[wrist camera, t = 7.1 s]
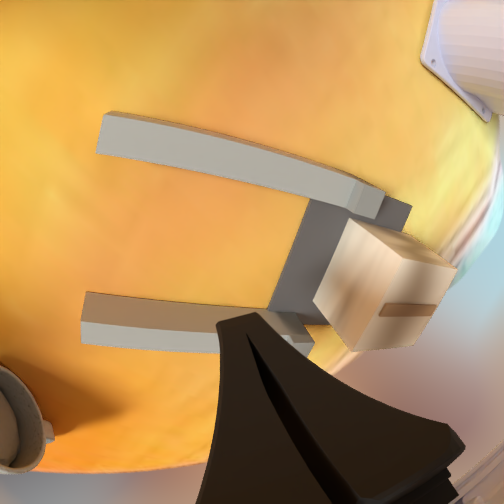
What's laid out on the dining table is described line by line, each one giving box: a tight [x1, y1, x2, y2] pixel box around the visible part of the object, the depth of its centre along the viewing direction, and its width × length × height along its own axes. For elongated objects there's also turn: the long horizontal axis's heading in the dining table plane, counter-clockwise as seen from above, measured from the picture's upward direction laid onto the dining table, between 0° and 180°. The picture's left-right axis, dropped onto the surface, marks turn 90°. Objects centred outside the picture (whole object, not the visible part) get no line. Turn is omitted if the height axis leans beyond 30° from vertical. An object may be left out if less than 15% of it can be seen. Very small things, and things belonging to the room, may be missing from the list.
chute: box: [81, 111, 386, 358], centre depth 15 cm, size 13×11×3 cm
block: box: [313, 218, 458, 352], centre depth 19 cm, size 6×6×5 cm
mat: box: [267, 196, 412, 325], centre depth 20 cm, size 8×10×1 cm
